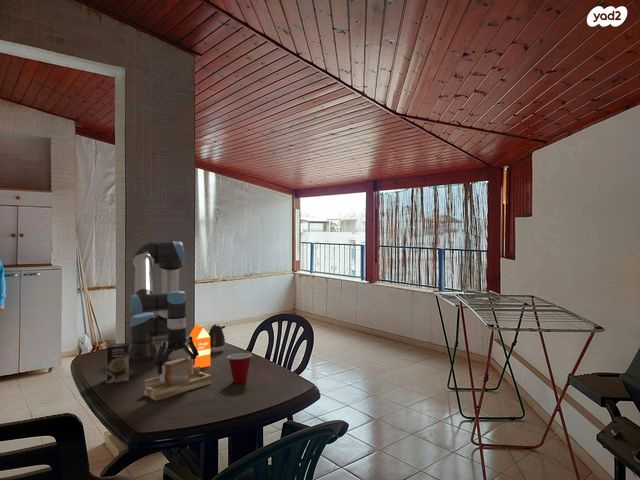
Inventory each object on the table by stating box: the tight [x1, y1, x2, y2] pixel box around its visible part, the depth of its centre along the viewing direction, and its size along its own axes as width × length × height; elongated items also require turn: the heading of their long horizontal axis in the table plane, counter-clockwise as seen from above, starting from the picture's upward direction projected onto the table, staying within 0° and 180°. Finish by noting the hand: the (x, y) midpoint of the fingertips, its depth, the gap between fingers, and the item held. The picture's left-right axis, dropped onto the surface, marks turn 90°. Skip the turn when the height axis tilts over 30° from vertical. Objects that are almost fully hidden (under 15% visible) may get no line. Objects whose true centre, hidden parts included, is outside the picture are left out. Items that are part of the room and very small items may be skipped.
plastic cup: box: [226, 352, 252, 384], centre depth 193 cm, size 11×11×12 cm
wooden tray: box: [143, 366, 212, 401], centre depth 183 cm, size 9×26×7 cm, turn 140°
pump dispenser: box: [208, 323, 226, 353], centre depth 242 cm, size 10×10×15 cm
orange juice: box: [188, 324, 211, 369], centre depth 216 cm, size 8×9×20 cm
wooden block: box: [163, 357, 190, 387], centre depth 182 cm, size 5×9×10 cm, turn 140°
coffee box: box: [105, 342, 130, 384], centre depth 194 cm, size 9×6×16 cm
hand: (176, 377), depth 182 cm, fingers open, 13 cm apart
